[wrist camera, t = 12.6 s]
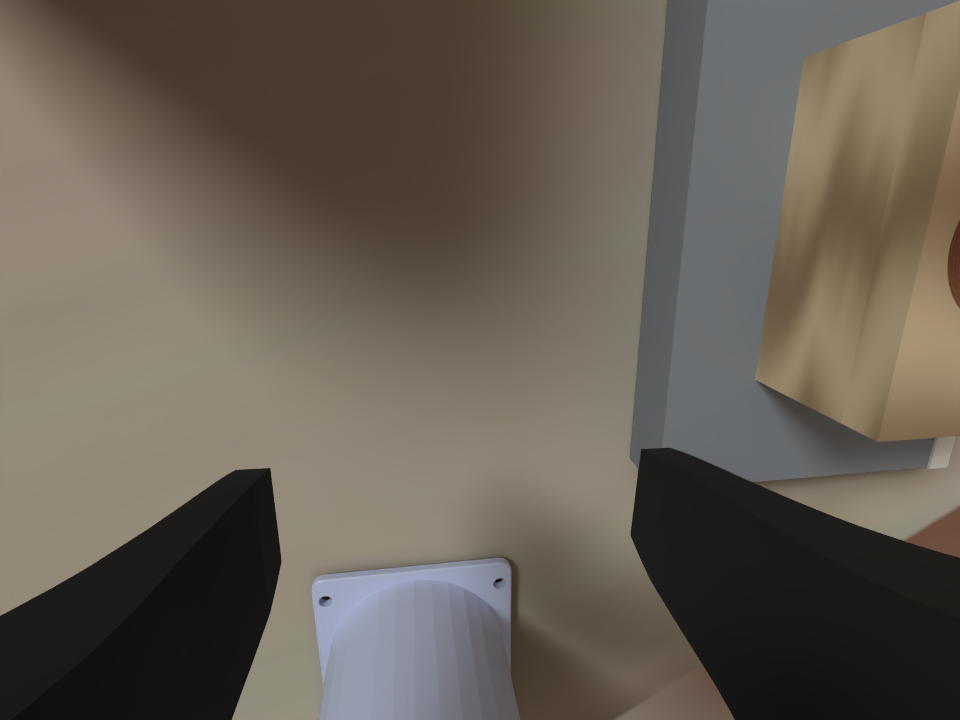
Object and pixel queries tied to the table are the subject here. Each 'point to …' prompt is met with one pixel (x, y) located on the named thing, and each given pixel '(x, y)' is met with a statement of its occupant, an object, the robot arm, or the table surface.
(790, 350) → the tan rectangular block
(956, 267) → the brown rounded piece
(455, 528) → the table surface
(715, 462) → the loading dock
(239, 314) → the table surface
